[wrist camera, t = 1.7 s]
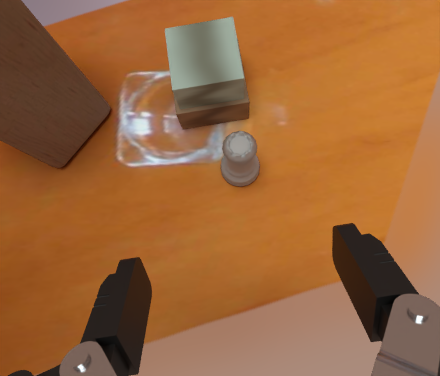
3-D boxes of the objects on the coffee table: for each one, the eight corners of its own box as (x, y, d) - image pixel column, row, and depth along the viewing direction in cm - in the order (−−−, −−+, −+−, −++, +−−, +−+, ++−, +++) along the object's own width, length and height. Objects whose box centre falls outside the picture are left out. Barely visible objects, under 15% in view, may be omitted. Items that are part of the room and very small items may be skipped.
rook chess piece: (215, 180, 37) (208, 158, 29) (228, 145, 38) (225, 115, 30) (252, 192, 36) (254, 173, 28) (264, 157, 37) (270, 129, 29)
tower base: (182, 129, 39) (167, 95, 31) (175, 71, 40) (159, 25, 33) (248, 118, 38) (250, 81, 31) (237, 60, 40) (237, 11, 32)
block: (116, 110, 40) (-5, -35, 20) (62, 173, 38) (-122, 82, 19) (59, 69, 42) (-101, -99, 22) (6, 128, 40) (-215, 3, 21)
